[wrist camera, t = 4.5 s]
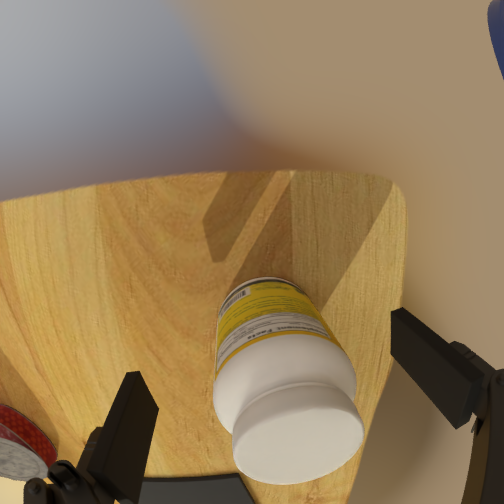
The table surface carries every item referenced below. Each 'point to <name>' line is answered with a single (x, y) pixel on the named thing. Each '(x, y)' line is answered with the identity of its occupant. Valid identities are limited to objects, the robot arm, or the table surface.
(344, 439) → the pill bottle
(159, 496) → the mat
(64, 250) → the table surface
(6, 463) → the canned food
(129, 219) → the table surface
